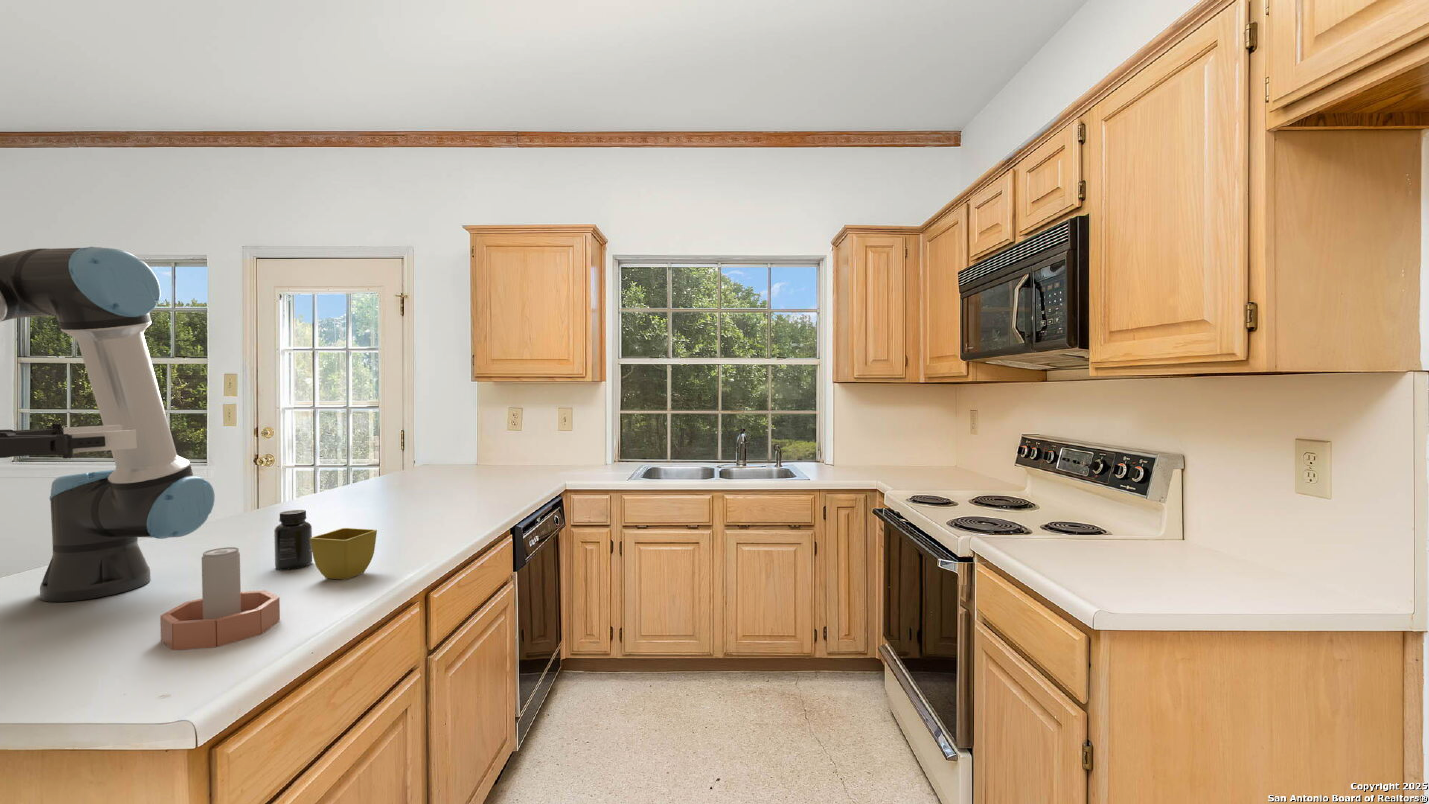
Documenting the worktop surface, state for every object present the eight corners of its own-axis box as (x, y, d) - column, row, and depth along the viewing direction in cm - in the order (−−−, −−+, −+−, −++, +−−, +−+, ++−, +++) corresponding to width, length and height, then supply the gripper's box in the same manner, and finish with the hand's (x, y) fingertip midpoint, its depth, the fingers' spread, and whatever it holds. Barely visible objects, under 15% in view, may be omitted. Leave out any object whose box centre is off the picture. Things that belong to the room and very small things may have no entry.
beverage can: (217, 619, 101) (215, 547, 101) (248, 618, 101) (246, 546, 101) (195, 630, 96) (193, 555, 96) (227, 629, 97) (226, 554, 96)
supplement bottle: (319, 563, 136) (319, 509, 136) (289, 571, 130) (288, 516, 129) (297, 560, 138) (296, 507, 138) (267, 568, 132) (266, 513, 132)
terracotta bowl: (141, 652, 91) (140, 625, 91) (201, 617, 104) (200, 594, 104) (246, 644, 93) (246, 619, 93) (292, 611, 107) (291, 589, 107)
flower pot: (346, 584, 122) (345, 539, 121) (309, 581, 123) (308, 537, 123) (378, 571, 130) (378, 529, 130) (343, 568, 132) (343, 527, 132)
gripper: (-90, 468, 86) (118, 453, 103) (-105, 490, 71) (143, 467, 87) (-94, 415, 86) (116, 408, 102) (-110, 425, 70) (141, 415, 87)
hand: (129, 435), depth 95 cm, fingers open, 13 cm apart
